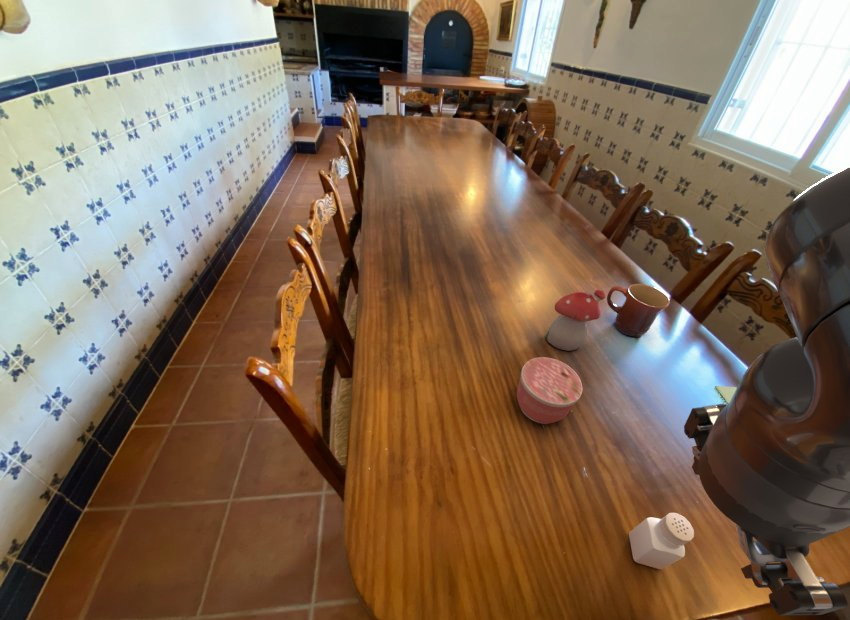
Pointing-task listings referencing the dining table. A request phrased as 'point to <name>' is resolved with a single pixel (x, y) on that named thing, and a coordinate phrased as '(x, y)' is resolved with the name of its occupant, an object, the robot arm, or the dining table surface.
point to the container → (547, 390)
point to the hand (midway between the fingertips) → (728, 517)
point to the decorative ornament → (574, 319)
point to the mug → (637, 308)
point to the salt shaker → (660, 540)
